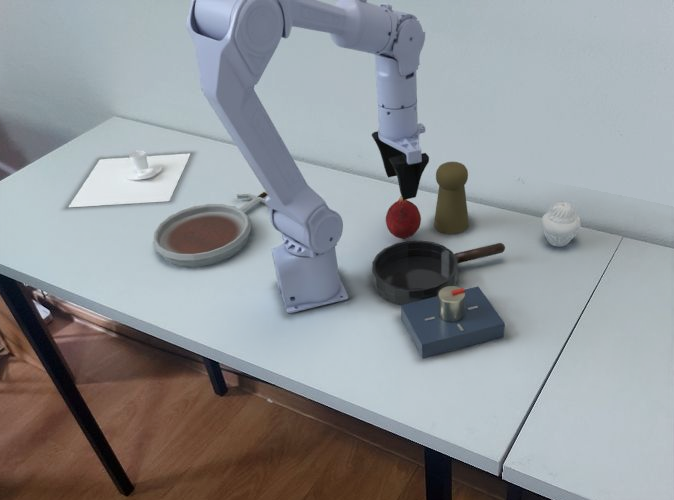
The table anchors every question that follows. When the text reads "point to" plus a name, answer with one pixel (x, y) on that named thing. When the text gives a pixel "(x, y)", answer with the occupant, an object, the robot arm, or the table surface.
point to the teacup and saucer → (131, 180)
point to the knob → (451, 303)
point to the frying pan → (205, 233)
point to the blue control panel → (451, 324)
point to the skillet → (413, 271)
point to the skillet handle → (479, 252)
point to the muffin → (560, 224)
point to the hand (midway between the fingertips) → (401, 186)
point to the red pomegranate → (403, 219)
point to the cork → (451, 199)
